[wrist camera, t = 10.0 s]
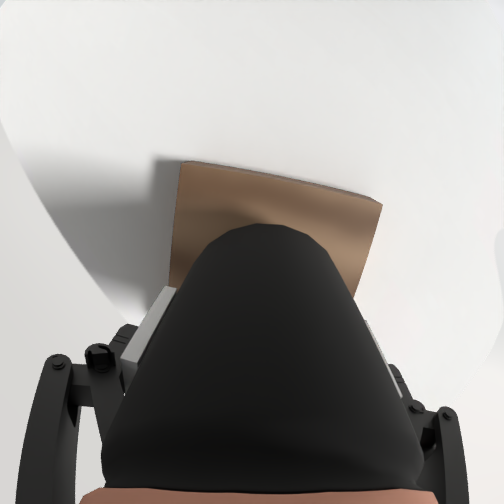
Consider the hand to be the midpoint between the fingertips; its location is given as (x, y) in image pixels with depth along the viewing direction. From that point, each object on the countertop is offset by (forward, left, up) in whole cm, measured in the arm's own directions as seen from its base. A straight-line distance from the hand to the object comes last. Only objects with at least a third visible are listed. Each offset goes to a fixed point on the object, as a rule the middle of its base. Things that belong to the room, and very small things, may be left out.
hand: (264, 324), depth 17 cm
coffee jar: (0, 0, -5) cm, 5 cm away
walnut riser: (0, 0, -9) cm, 9 cm away
